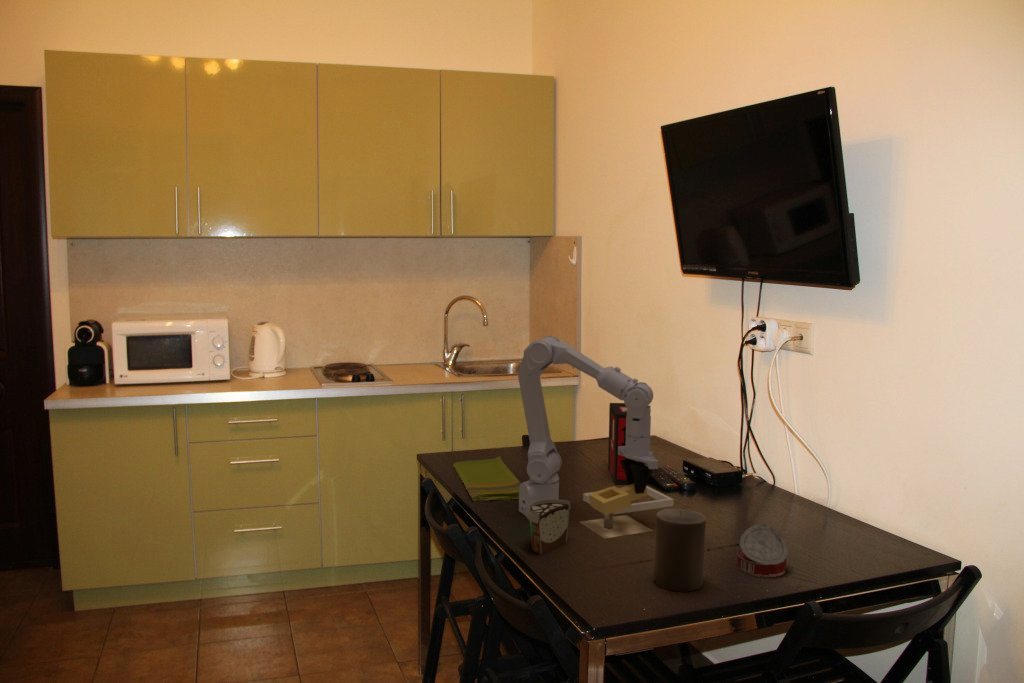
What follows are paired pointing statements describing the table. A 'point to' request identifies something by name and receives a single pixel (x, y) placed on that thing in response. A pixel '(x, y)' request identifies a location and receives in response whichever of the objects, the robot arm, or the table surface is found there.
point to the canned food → (762, 550)
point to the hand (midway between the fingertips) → (636, 491)
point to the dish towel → (488, 479)
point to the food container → (548, 523)
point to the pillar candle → (679, 549)
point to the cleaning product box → (617, 441)
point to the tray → (659, 503)
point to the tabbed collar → (614, 498)
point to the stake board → (615, 526)
